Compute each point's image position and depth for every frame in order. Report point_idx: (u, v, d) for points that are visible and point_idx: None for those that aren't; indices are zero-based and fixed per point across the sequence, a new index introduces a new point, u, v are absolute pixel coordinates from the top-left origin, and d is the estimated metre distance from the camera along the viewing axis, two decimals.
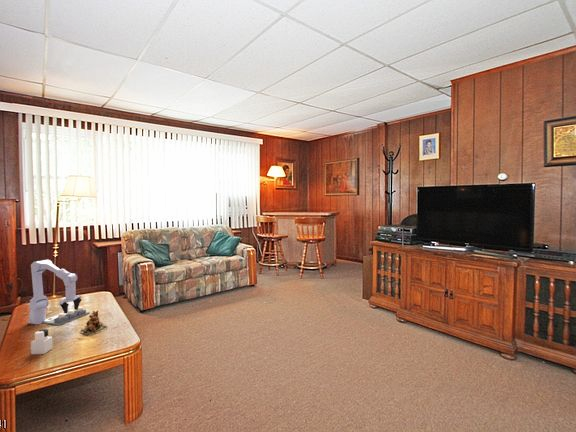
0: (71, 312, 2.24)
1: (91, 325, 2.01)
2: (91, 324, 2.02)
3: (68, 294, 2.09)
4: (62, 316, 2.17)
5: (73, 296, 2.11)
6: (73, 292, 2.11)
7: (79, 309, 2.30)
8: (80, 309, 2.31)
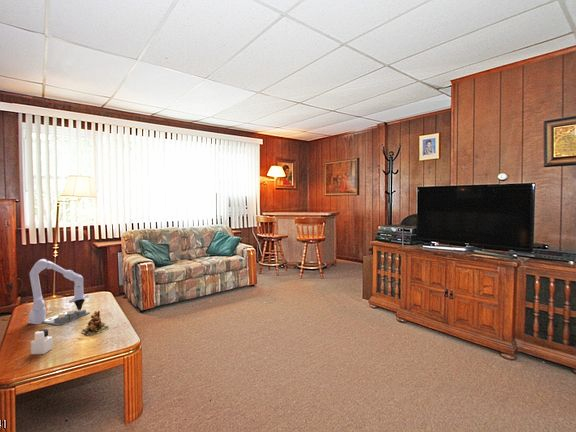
0: (71, 312, 2.24)
1: (92, 325, 2.01)
2: (92, 324, 2.02)
3: (77, 294, 2.29)
4: (62, 316, 2.17)
5: (81, 295, 2.31)
6: (81, 292, 2.30)
7: (79, 311, 2.30)
8: (80, 311, 2.31)
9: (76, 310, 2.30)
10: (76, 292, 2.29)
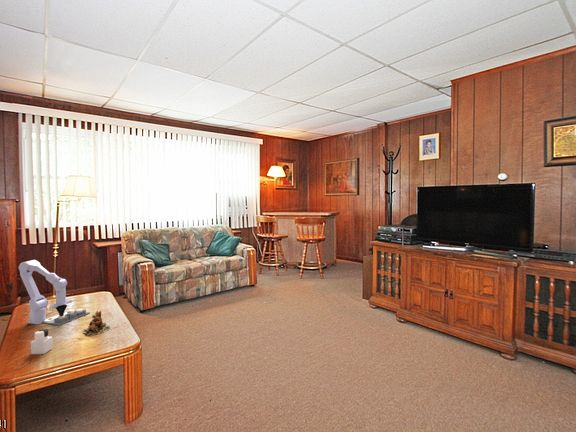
0: (71, 312, 2.24)
1: (93, 325, 2.01)
2: (93, 324, 2.01)
3: (58, 299, 2.15)
4: None
5: (63, 301, 2.17)
6: (63, 297, 2.17)
7: (79, 311, 2.30)
8: (80, 311, 2.31)
9: (76, 310, 2.30)
10: (58, 297, 2.15)
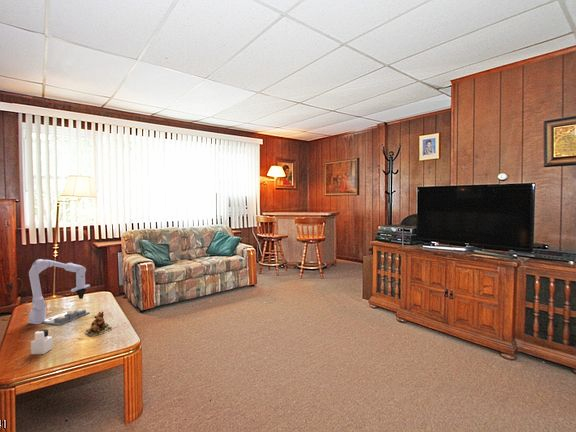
0: (71, 312, 2.24)
1: (95, 326, 2.00)
2: (95, 325, 2.01)
3: (78, 283, 2.35)
4: None
5: (83, 285, 2.37)
6: (83, 281, 2.37)
7: (79, 311, 2.30)
8: (80, 311, 2.31)
9: (76, 310, 2.30)
10: (78, 281, 2.35)
